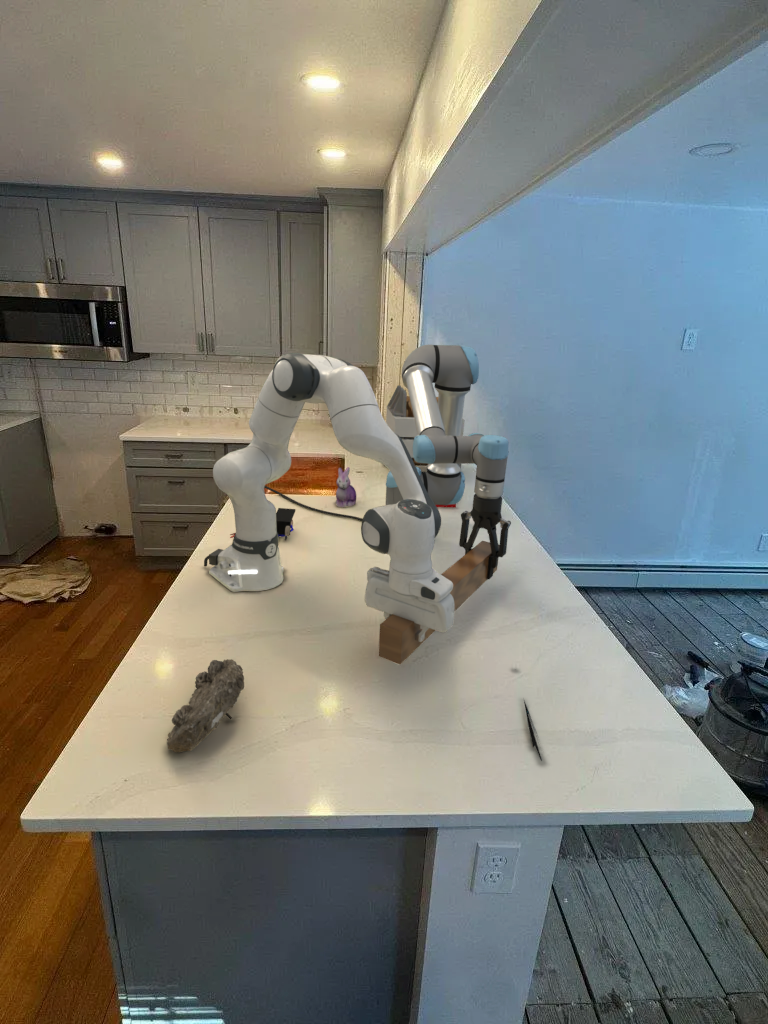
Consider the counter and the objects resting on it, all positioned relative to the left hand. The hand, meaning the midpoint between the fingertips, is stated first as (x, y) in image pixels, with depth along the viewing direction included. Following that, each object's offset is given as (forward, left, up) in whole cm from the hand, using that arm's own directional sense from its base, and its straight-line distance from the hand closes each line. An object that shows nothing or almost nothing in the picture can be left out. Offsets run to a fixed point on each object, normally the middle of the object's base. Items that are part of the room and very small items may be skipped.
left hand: (406, 635), depth 122 cm
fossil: (-19, -37, -9) cm, 42 cm away
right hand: (-4, +41, -2) cm, 42 cm away
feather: (+27, +4, -9) cm, 29 cm away
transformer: (-86, +134, -9) cm, 160 cm away
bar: (-2, +21, -3) cm, 21 cm away
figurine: (-82, +74, -9) cm, 111 cm away
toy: (-59, +109, -9) cm, 124 cm away
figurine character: (-76, +35, -9) cm, 84 cm away
